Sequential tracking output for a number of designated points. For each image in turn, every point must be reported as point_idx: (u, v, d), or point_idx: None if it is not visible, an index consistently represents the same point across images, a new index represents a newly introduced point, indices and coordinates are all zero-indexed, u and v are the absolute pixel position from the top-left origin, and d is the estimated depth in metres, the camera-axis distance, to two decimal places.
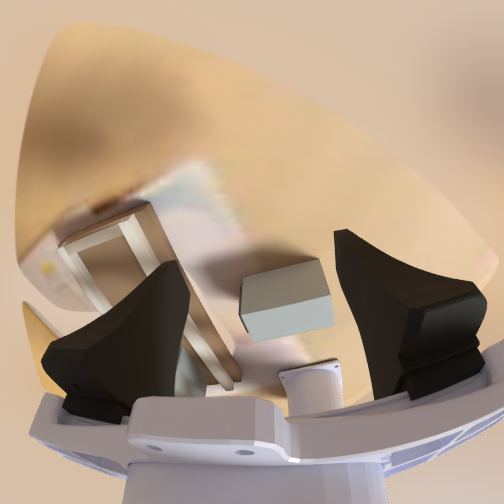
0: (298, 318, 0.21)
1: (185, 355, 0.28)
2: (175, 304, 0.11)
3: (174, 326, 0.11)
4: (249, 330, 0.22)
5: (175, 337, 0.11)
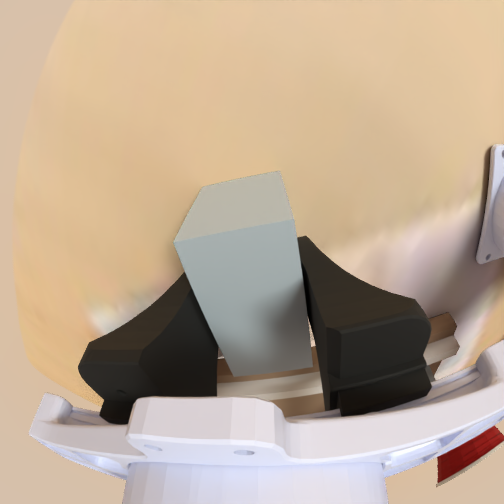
0: (249, 305, 0.09)
1: None
2: None
3: None
4: (276, 370, 0.11)
5: None
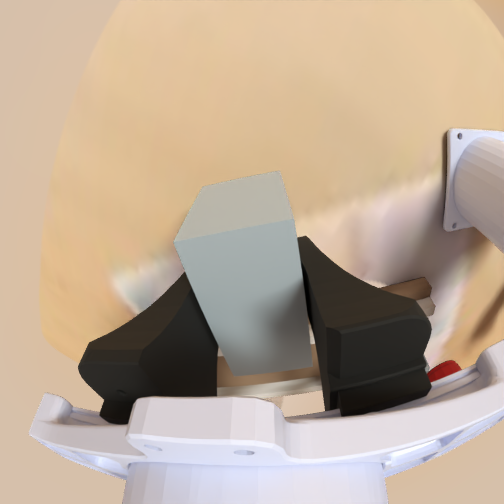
0: (249, 305, 0.09)
1: None
2: None
3: None
4: (276, 370, 0.11)
5: None
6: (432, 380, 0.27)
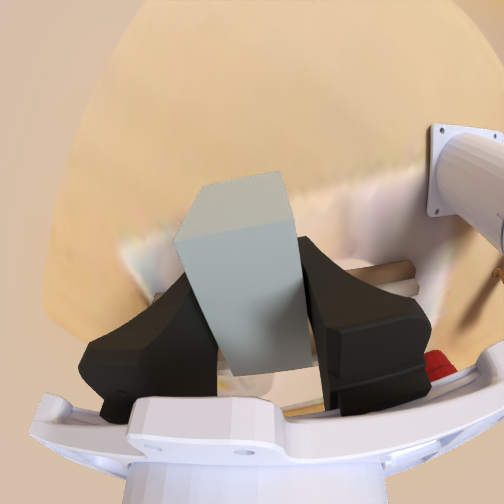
0: (249, 305, 0.09)
1: None
2: None
3: None
4: (276, 370, 0.11)
5: None
6: None
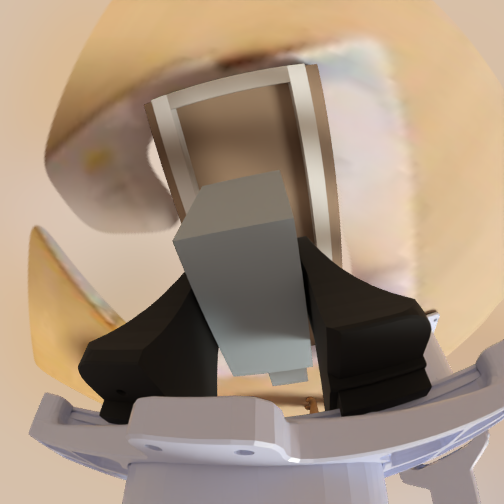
0: (249, 305, 0.09)
1: None
2: None
3: None
4: (275, 370, 0.11)
5: None
6: None
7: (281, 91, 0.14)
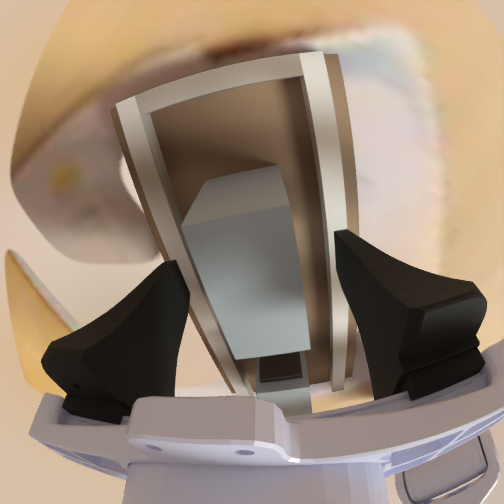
0: (250, 287, 0.10)
1: None
2: (175, 304, 0.11)
3: (174, 326, 0.11)
4: (275, 353, 0.12)
5: (175, 337, 0.11)
6: None
7: (290, 88, 0.11)
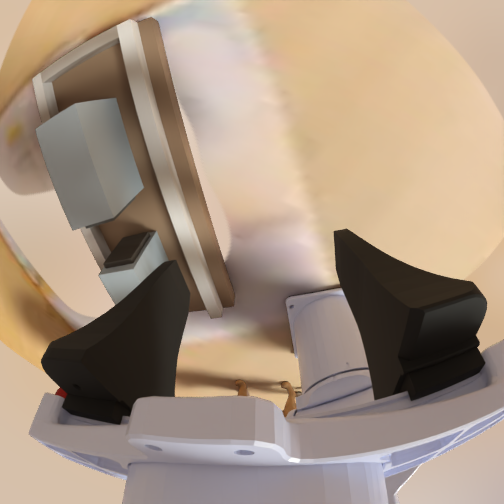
0: (65, 161, 0.12)
1: (159, 245, 0.20)
2: (175, 304, 0.11)
3: (174, 326, 0.11)
4: (93, 221, 0.14)
5: (175, 337, 0.11)
6: None
7: (121, 48, 0.13)
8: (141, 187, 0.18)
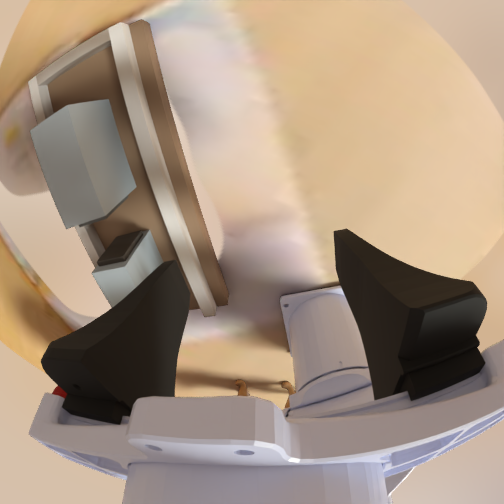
0: (58, 161, 0.12)
1: (152, 244, 0.20)
2: (175, 304, 0.11)
3: (174, 326, 0.11)
4: (85, 220, 0.14)
5: (175, 337, 0.11)
6: None
7: (113, 50, 0.13)
8: (134, 186, 0.18)
